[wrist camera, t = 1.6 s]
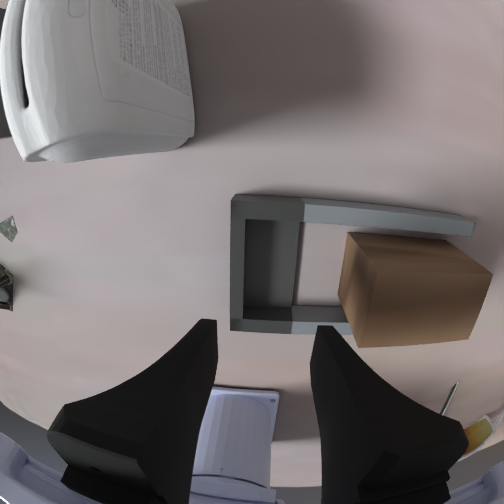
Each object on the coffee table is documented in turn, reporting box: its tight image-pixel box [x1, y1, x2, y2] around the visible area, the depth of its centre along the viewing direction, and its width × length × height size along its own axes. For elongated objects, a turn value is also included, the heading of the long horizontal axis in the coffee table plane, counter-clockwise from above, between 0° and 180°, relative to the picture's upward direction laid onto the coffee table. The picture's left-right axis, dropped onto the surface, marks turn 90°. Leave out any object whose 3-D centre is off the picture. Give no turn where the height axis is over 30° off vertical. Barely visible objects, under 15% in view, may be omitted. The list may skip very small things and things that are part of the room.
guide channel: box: [230, 194, 475, 335], centre depth 18 cm, size 8×16×2 cm, turn 88°
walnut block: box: [338, 232, 493, 348], centre depth 16 cm, size 4×8×6 cm, turn 88°
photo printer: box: [0, 0, 195, 163], centre depth 9 cm, size 10×4×12 cm, turn 8°
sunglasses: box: [440, 380, 504, 462], centre depth 24 cm, size 14×15×5 cm
